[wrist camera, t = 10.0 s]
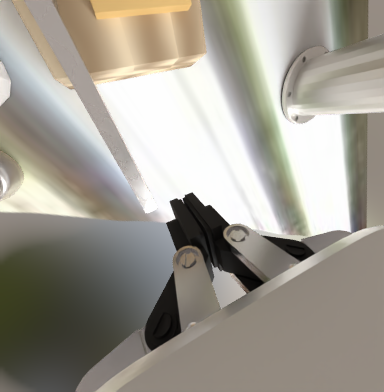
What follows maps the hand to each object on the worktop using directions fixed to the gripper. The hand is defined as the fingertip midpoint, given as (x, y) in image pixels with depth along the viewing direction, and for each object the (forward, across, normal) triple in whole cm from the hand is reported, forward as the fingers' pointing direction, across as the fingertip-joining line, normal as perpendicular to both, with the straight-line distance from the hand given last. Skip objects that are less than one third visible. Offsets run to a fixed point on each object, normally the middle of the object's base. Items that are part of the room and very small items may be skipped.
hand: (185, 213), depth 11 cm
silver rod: (+12, +4, -6) cm, 14 cm away
